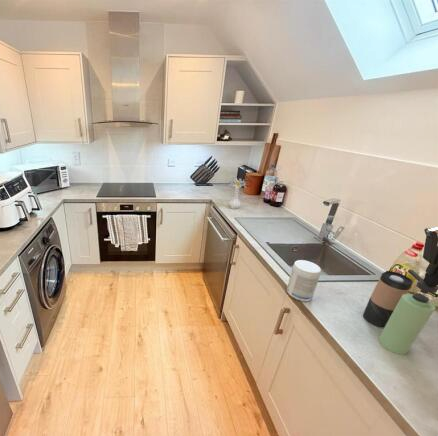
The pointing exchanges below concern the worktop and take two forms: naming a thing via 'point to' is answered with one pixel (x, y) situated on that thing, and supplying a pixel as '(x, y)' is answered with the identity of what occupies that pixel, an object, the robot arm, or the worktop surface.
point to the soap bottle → (406, 323)
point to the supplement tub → (303, 280)
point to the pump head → (423, 284)
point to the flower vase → (236, 192)
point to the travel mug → (386, 297)
